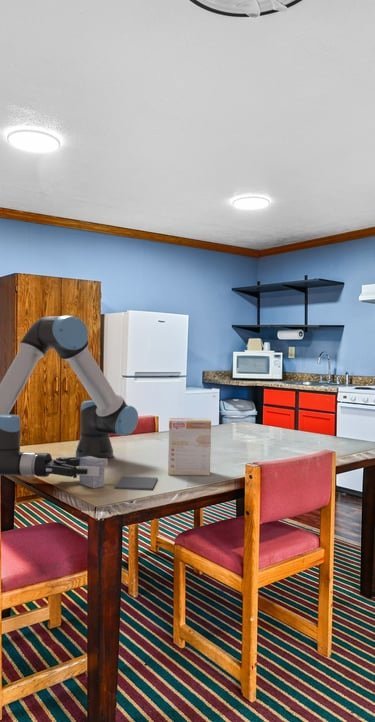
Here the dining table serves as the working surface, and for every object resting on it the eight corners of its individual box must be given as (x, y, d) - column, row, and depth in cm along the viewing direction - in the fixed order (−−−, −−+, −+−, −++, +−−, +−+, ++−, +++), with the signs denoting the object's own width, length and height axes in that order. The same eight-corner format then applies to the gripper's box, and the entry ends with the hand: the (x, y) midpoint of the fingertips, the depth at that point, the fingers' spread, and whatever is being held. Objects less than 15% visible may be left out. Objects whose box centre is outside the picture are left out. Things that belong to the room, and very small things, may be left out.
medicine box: (104, 486, 168) (105, 459, 168) (92, 489, 165) (93, 461, 165) (90, 482, 174) (91, 455, 174) (78, 484, 171) (79, 457, 170)
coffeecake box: (208, 471, 193) (210, 418, 193) (210, 476, 186) (211, 420, 186) (167, 470, 193) (169, 417, 193) (167, 475, 186) (169, 420, 185)
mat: (122, 478, 180) (122, 476, 180) (157, 479, 179) (157, 477, 179) (114, 488, 166) (114, 486, 166) (152, 490, 165) (152, 488, 165)
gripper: (48, 468, 182) (110, 470, 181) (22, 485, 158) (93, 488, 157) (49, 446, 182) (111, 448, 181) (23, 460, 158) (94, 463, 157)
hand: (103, 467), depth 169 cm, fingers open, 12 cm apart
